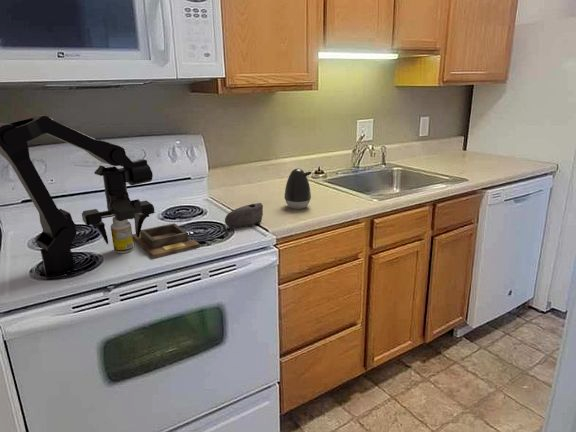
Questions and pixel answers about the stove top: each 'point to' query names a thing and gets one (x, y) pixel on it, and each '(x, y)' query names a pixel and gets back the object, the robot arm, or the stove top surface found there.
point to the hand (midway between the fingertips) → (122, 240)
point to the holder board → (165, 240)
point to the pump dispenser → (297, 189)
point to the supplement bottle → (122, 236)
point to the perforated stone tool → (245, 215)
